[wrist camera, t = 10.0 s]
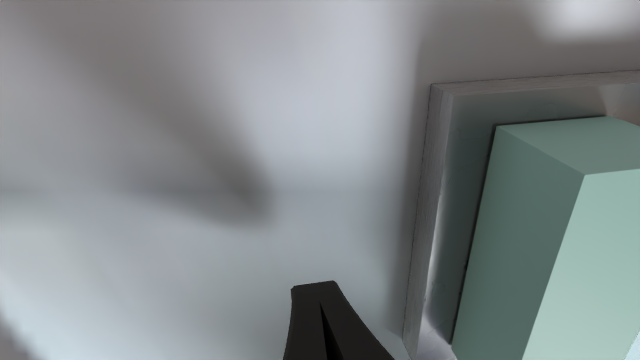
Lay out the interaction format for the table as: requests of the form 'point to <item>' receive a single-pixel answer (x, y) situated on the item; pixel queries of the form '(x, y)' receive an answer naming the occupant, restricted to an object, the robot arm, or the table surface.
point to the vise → (481, 180)
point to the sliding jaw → (555, 245)
